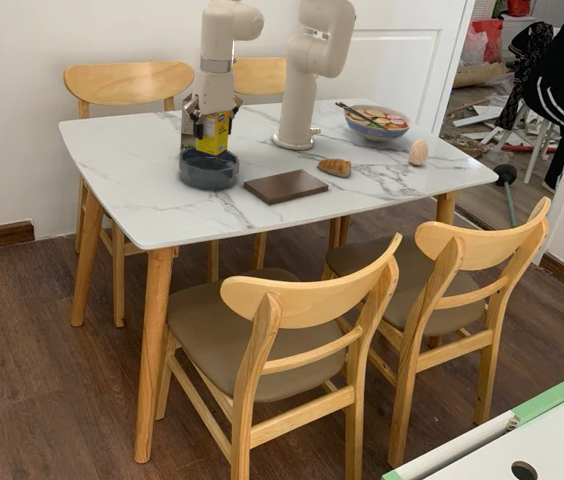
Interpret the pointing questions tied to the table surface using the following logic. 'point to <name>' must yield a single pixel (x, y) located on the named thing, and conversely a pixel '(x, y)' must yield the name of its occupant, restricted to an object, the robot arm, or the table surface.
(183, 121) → the coffee box
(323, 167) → the pastry
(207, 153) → the supplement box
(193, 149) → the bowl
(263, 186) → the walnut board
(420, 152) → the egg
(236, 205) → the table surface
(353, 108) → the ramen bowl
